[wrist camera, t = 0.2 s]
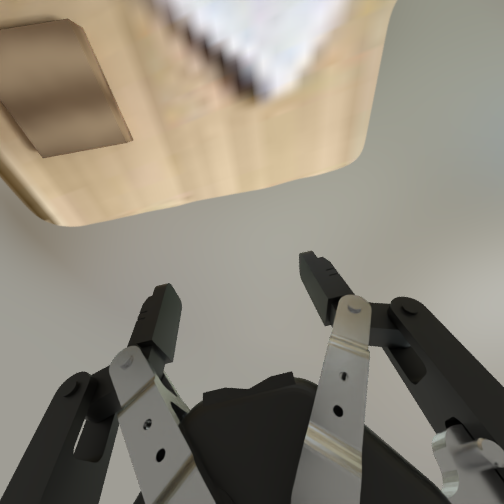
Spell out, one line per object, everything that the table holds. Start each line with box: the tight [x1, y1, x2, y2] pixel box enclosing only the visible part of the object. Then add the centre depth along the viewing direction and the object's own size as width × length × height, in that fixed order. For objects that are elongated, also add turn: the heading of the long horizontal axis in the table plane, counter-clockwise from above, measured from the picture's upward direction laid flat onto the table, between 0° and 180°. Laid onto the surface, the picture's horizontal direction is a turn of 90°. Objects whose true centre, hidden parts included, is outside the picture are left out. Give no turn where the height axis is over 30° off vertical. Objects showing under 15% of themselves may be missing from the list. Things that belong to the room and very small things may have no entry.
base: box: [0, 19, 133, 158], centre depth 26 cm, size 12×12×3 cm
